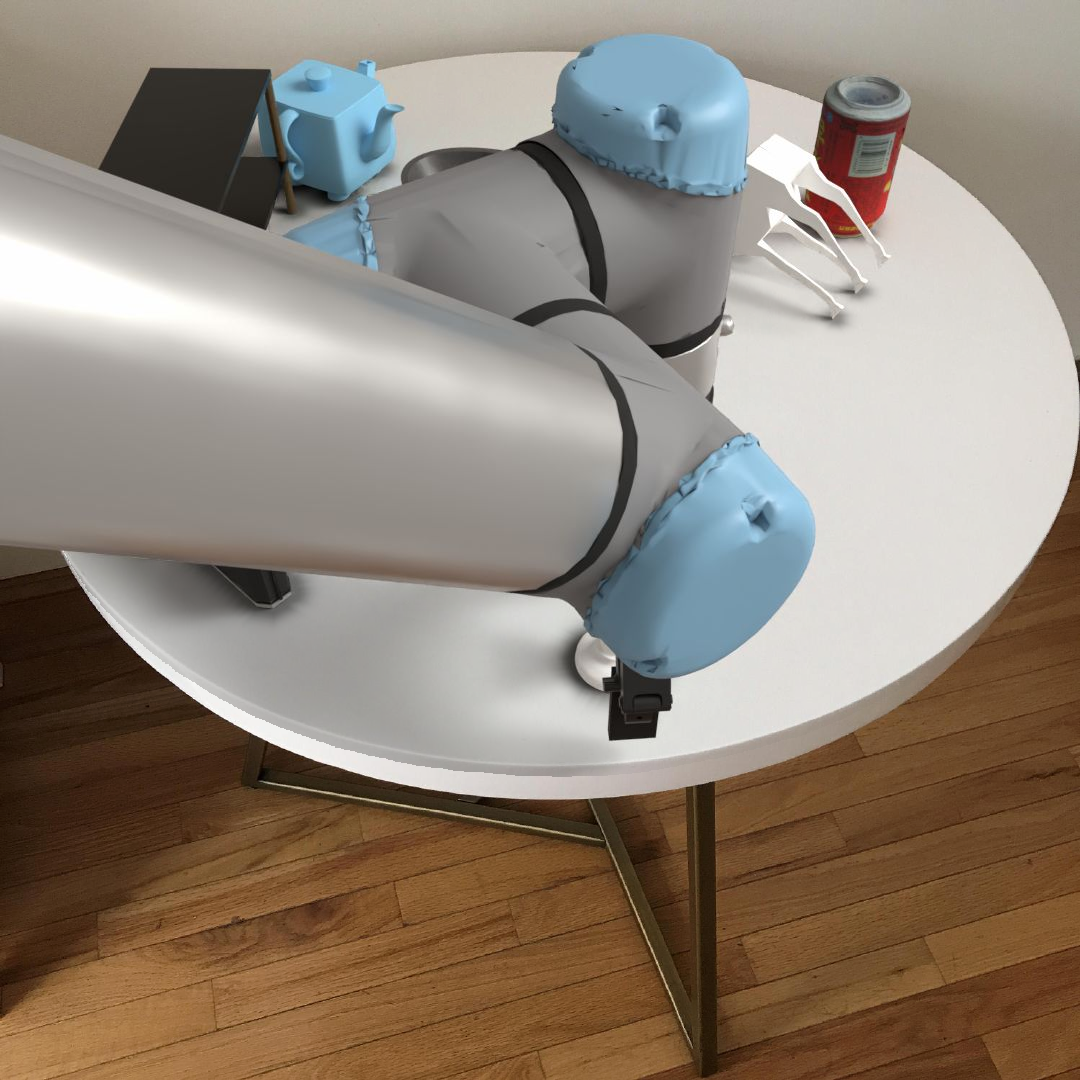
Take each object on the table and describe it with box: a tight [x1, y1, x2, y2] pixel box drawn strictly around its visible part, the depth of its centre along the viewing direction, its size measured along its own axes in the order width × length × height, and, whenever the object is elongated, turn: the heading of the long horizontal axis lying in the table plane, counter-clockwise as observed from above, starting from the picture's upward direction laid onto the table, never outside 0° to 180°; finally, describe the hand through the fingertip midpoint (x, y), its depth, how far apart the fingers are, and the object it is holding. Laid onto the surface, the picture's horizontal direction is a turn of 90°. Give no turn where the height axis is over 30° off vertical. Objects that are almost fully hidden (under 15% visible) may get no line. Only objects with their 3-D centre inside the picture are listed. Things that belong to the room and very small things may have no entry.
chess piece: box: [574, 631, 616, 692], centre depth 69 cm, size 5×5×10 cm
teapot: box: [257, 58, 405, 202], centre depth 105 cm, size 18×14×10 cm
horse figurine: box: [733, 133, 892, 320], centre depth 97 cm, size 5×16×25 cm
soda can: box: [804, 74, 912, 239], centre depth 99 cm, size 7×7×12 cm
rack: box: [97, 67, 298, 231], centre depth 92 cm, size 26×10×13 cm, turn 178°
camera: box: [211, 565, 292, 609], centre depth 77 cm, size 13×8×9 cm, turn 49°
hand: (618, 637), depth 71 cm, fingers open, 13 cm apart
